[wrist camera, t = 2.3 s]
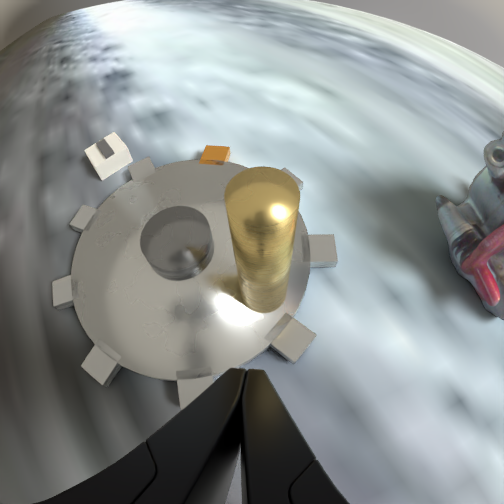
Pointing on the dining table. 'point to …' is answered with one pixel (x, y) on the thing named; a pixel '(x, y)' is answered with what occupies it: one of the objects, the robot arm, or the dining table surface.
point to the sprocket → (193, 271)
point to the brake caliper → (480, 230)
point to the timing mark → (108, 155)
